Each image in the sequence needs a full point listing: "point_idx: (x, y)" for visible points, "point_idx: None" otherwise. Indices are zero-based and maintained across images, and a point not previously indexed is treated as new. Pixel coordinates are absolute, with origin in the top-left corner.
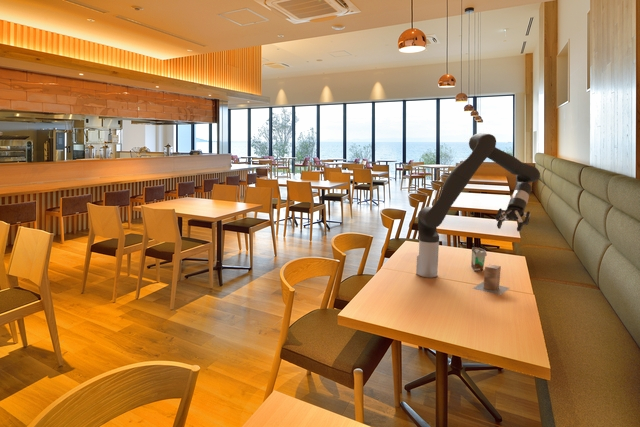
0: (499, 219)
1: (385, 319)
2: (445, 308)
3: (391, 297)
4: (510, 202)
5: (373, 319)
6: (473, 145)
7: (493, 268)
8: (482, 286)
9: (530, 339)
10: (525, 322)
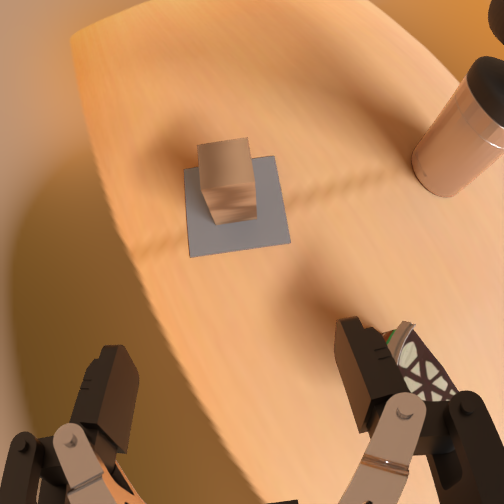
0: (405, 396)
1: None
2: (240, 34)
3: (344, 19)
4: None
5: None
6: None
7: (211, 143)
8: (263, 195)
9: (83, 58)
10: (95, 91)
